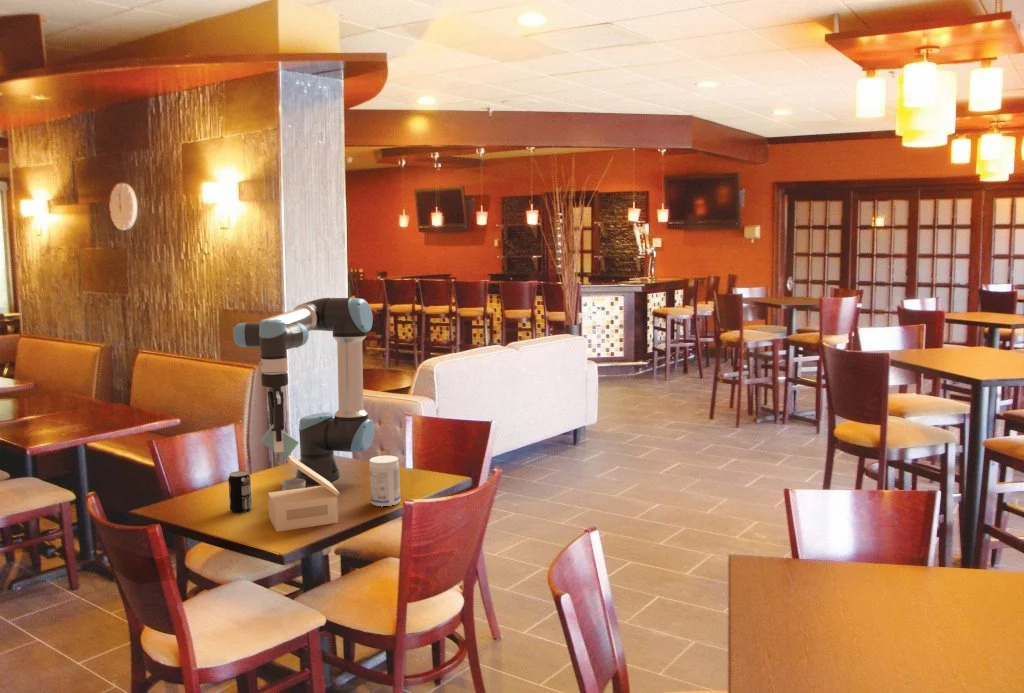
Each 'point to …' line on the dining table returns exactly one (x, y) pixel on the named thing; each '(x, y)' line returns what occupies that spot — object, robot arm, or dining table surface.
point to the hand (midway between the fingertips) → (277, 450)
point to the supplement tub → (384, 480)
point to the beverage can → (240, 491)
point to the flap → (289, 446)
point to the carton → (302, 508)
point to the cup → (292, 484)
